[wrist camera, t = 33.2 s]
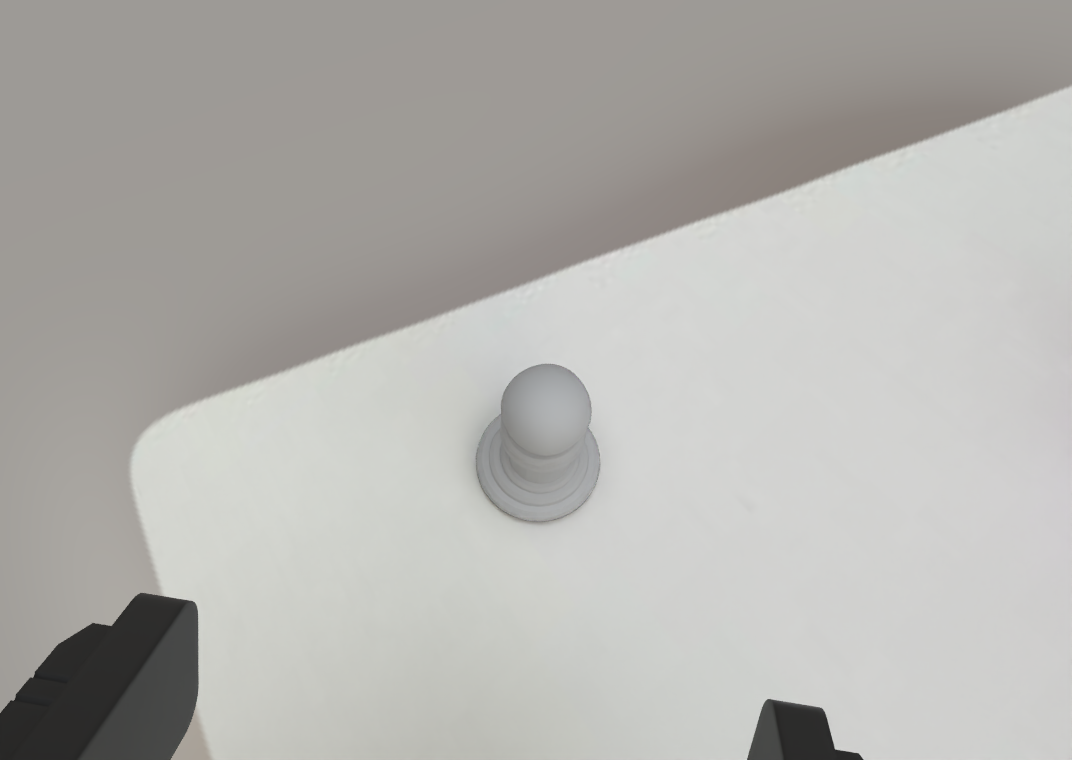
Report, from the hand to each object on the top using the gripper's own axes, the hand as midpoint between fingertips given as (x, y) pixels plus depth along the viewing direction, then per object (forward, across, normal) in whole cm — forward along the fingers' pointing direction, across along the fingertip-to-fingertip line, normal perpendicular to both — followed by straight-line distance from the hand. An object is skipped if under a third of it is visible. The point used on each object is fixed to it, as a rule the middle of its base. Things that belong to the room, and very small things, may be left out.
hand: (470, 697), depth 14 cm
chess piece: (+27, 0, +11) cm, 29 cm away
